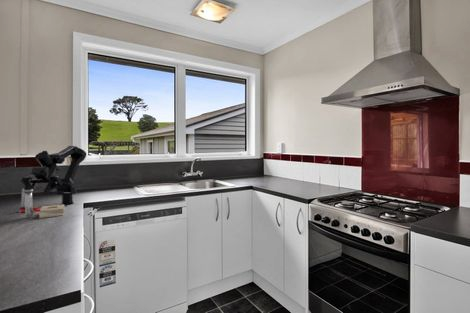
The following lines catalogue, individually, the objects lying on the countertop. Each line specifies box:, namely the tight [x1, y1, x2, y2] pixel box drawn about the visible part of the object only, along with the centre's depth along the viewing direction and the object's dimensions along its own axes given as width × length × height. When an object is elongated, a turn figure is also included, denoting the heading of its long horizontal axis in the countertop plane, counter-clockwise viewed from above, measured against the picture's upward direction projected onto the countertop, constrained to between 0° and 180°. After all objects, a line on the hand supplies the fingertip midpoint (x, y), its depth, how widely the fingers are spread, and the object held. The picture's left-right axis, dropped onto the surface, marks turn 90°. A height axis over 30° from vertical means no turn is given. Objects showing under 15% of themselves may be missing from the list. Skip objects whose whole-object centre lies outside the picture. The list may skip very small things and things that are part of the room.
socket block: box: [38, 204, 65, 219], centre depth 135 cm, size 12×10×4 cm
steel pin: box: [23, 188, 34, 219], centre depth 128 cm, size 4×4×14 cm
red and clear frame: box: [17, 187, 41, 214], centre depth 143 cm, size 8×13×9 cm
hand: (34, 194), depth 132 cm, fingers open, 9 cm apart
